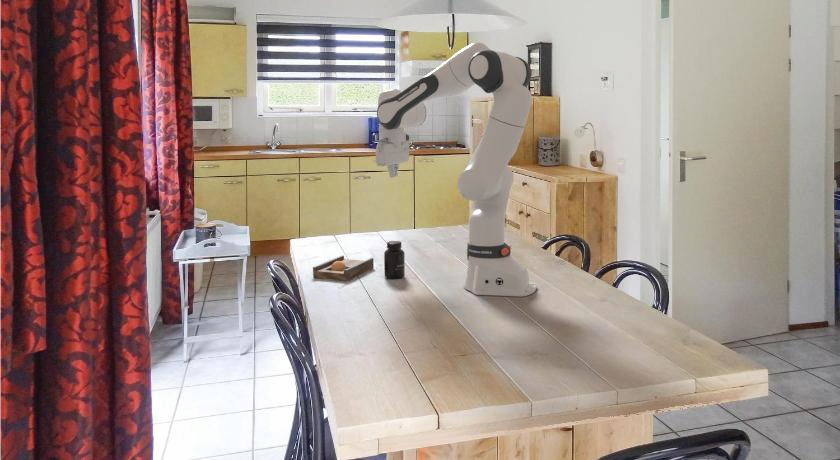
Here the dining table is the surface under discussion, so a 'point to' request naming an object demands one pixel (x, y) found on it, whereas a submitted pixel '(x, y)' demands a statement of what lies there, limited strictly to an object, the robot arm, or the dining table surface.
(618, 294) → the dining table surface
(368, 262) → the lane
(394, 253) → the supplement bottle
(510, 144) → the robot arm
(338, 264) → the ball
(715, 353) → the dining table surface
